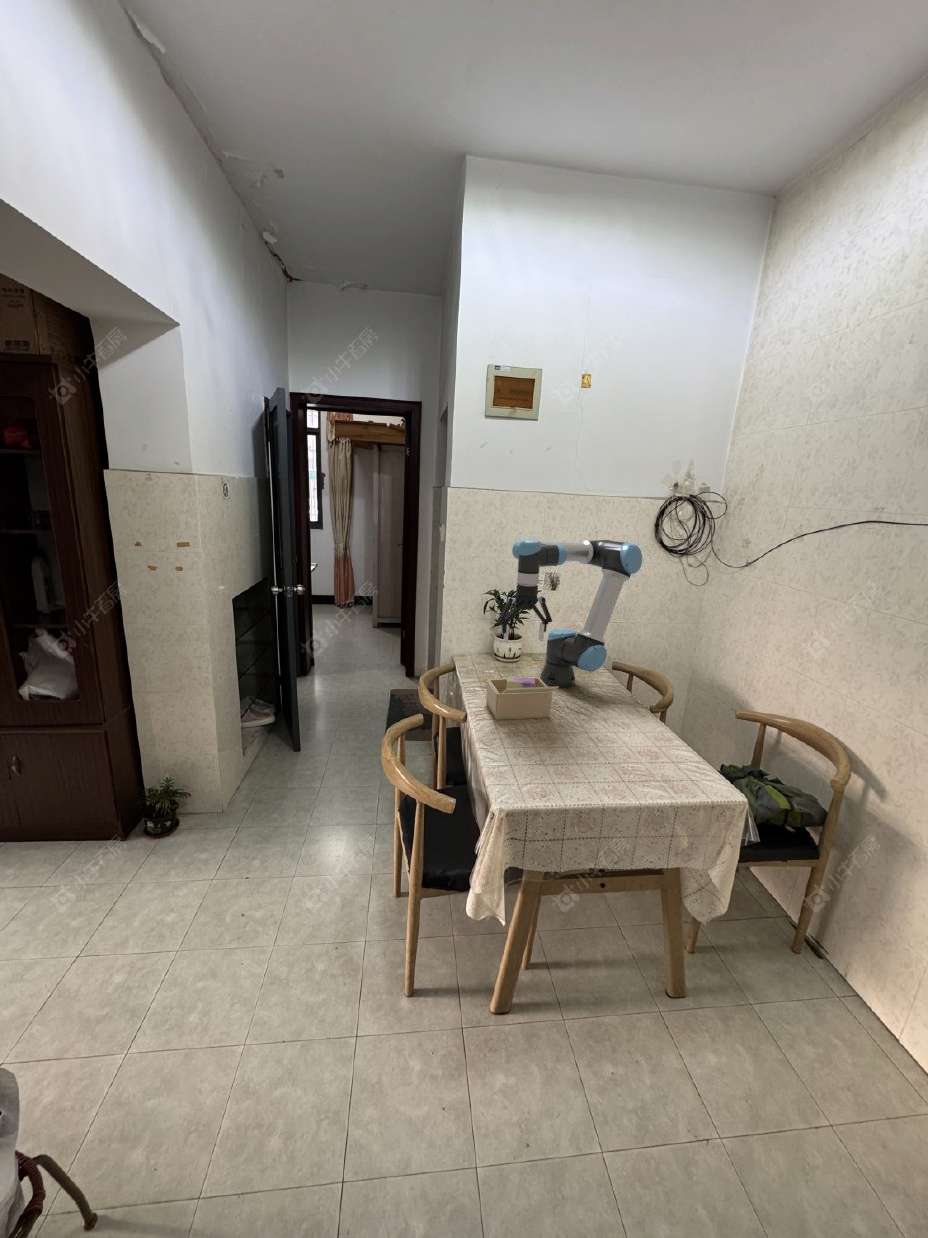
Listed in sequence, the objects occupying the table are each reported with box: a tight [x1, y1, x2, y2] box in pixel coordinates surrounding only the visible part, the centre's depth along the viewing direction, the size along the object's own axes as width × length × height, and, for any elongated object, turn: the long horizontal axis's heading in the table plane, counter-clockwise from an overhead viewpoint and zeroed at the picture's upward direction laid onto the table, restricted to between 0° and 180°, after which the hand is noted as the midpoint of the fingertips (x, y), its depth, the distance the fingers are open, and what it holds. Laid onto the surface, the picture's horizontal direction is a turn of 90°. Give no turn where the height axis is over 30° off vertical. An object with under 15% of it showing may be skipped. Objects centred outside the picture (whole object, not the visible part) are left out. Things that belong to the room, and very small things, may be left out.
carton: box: [485, 677, 553, 721], centre depth 187 cm, size 21×14×10 cm
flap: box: [501, 686, 560, 694], centre depth 174 cm, size 19×8×1 cm
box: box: [506, 675, 535, 689], centre depth 186 cm, size 10×6×12 cm, turn 85°
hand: (523, 641), depth 183 cm, fingers open, 13 cm apart
